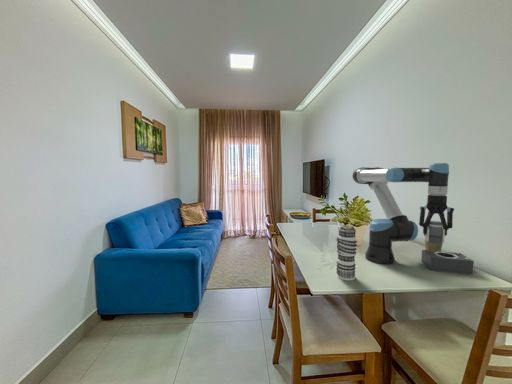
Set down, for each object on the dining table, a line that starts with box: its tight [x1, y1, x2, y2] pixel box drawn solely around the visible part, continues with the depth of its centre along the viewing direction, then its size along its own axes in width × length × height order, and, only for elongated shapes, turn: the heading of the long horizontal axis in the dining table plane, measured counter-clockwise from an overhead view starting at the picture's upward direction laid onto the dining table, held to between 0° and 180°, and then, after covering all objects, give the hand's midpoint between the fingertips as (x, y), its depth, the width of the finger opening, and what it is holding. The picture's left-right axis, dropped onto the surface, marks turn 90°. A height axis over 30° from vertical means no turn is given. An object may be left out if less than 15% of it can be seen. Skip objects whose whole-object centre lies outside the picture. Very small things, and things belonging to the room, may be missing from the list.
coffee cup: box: [423, 233, 444, 252], centre depth 138 cm, size 10×10×15 cm
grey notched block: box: [420, 249, 475, 275], centre depth 123 cm, size 18×12×8 cm, turn 72°
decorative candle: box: [335, 224, 358, 282], centre depth 112 cm, size 9×9×25 cm
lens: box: [428, 220, 443, 244], centre depth 114 cm, size 6×6×10 cm
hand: (434, 241), depth 115 cm, fingers closed on lens, 6 cm apart
